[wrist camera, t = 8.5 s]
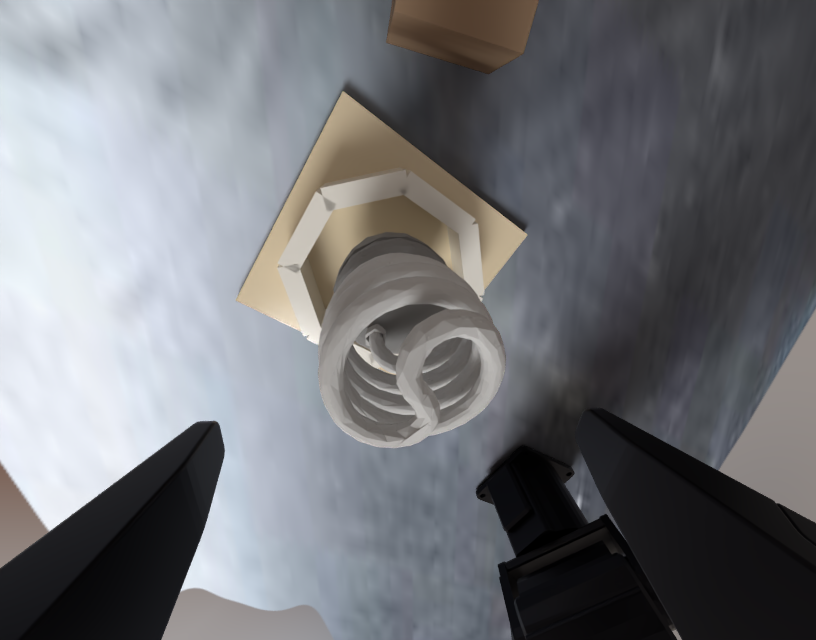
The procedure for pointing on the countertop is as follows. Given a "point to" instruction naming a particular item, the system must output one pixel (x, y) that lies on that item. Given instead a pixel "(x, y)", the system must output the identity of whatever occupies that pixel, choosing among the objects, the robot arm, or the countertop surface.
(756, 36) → the countertop surface
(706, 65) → the countertop surface
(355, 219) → the socket
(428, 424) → the light bulb
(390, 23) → the walnut block
